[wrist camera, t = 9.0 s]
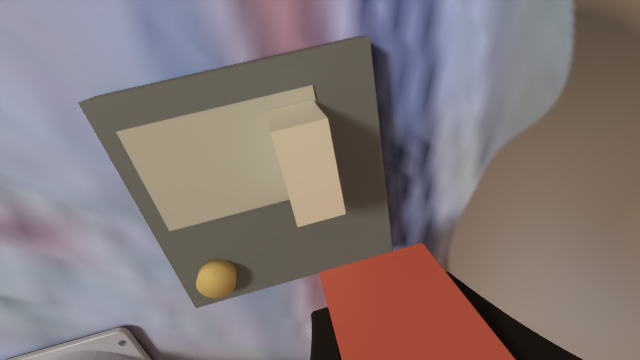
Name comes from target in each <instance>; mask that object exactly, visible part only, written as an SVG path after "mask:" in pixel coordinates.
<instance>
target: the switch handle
mask: <svg viewBox="0 0 640 360" xmlns="http://www.w3.org/2000/svg"><path fill="white" fill-rule="evenodd" d="M268 114H269V123H270V133H271V136H272V140H273V143H274V147H275V150H276V153H277V157H278V160H279V164H280V167H281V171H282V174H283V178H284V181H285V185H286V188H287V192H288V195H289V199H290V202H291V206H292V209H293V213H294V216H295V220H296V223H297V227H301V226H304V225H308V224H312V223H315V222H319V221H323V220H326V219H330V218H334V217H337V216H341V215H345V214H346V212H345V207H344V201H343V196H342V191H341V185H340V180H339V175H338V170H337V164H336V159H335V154H334V148H333V143H332V138H331V132H330V127H329V122H328V118H327V117H326V116H325V114H324V113H323V112H322V111H321V110H320V108H319V107H318V106H317V105H316V104H315V102H314V101H313V100H311V101H307V102H303V103H299V104H295V105H290V106H286V107H282V108H278V109H274V110H270V111H268Z"/></svg>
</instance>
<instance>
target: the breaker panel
mask: <svg viewBox="0 0 640 360" xmlns="http://www.w3.org/2000/svg"><path fill="white" fill-rule="evenodd" d="M311 100H313V101H314V102H315V104H316V105H317V106H318V107H319V108H320V110H321V111H322V112H323V113H324V114H325V116H326V117H327V118H328V122H329V127H330V132H331V138H332V143H333V148H334V154H335V159H336V164H337V170H338V175H339V180H340V185H341V191H342V196H343V201H344V207H345V212H346V214H345V215H341V216H337V217H334V218H330V219H326V220H323V221H319V222H315V223H312V224H308V225H304V226H301V227H297V223H296V220H295V216H294V213H293V209H292V206H291V202H290V199H289V195H288V192H287V188H286V185H285V181H284V178H283V174H282V171H281V167H280V164H279V160H278V157H277V153H276V150H275V147H274V143H273V140H272V136H271V133H270V123H269V114H268V111H270V110H274V109H278V108H282V107H286V106H290V105H295V104H299V103H303V102H307V101H311ZM79 105H80V107H81V108H82V110H83V112H84V114H85V115H86V117H87V119H88V120H89V122H90V124H91V126H92V127H93V129H94V131H95V133H96V134H97V136H98V138H99V140H100V141H101V143H102V145H103V147H104V148H105V150H106V152H107V154H108V155H109V157H110V159H111V161H112V162H113V164H114V166H115V168H116V169H117V171H118V173H119V175H120V176H121V178H122V180H123V182H124V183H125V185H126V187H127V189H128V190H129V192H130V194H131V196H132V197H133V199H134V201H135V203H136V204H137V206H138V208H139V210H140V211H141V213H142V215H143V217H144V218H145V220H146V222H147V224H148V225H149V227H150V229H151V231H152V232H153V234H154V236H155V238H156V239H157V241H158V243H159V244H160V246H161V248H162V250H163V251H164V253H165V255H166V257H167V258H168V260H169V262H170V264H171V265H172V267H173V269H174V271H175V272H176V274H177V276H178V278H179V279H180V281H181V283H182V285H183V286H184V288H185V290H186V292H187V293H188V295H189V297H190V299H191V300H192V302H193V304H194V306H195V307H196V308H198V307H201V306H205V305H208V304H212V303H215V302H219V301H222V300H226V299H229V298H233V297H236V296H240V295H243V294H247V293H250V292H254V291H257V290H261V289H264V288H268V287H271V286H275V285H278V284H282V283H285V282H289V281H292V280H296V279H299V278H303V277H306V276H310V275H313V274H317V273H319V272H322V271H325V270H329V269H332V268H336V267H339V266H343V265H346V264H350V263H353V262H356V261H360V260H363V259H367V258H370V257H374V256H377V255H381V254H384V253H388V252H391V251H393V248H392V239H391V229H390V220H389V211H388V201H387V192H386V183H385V174H384V164H383V155H382V146H381V136H380V127H379V118H378V108H377V99H376V90H375V81H374V71H373V62H372V53H371V43H370V36H357V37H353V38H348V39H344V40H339V41H335V42H331V43H326V44H322V45H318V46H313V47H309V48H304V49H300V50H296V51H291V52H287V53H283V54H278V55H274V56H269V57H265V58H261V59H256V60H252V61H247V62H243V63H239V64H234V65H230V66H226V67H221V68H217V69H212V70H208V71H204V72H199V73H195V74H191V75H186V76H182V77H177V78H173V79H169V80H164V81H160V82H156V83H151V84H147V85H142V86H138V87H134V88H129V89H125V90H121V91H116V92H112V93H107V94H103V95H99V96H95V97H92V98H90V99H87V100H84V101H81V102H79Z"/></svg>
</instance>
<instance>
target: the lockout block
mask: <svg viewBox="0 0 640 360" xmlns="http://www.w3.org/2000/svg"><path fill="white" fill-rule="evenodd" d="M319 273H320V277H321V281H322V285H323V289H324V293H325V297H326V301H327V304H328V308H329V312H330V316H331V320H332V324H333V328H334V332H335V336H336V340H337V343H338V347H339V351H340V355H341V359H342V360H515V358H514V357H513V356H512V355H511V353H510V352H509V351H508V350H507V348H506V347H505V346H504V345H503V343H502V342H501V341H500V340H499V338H498V337H497V336H496V335H495V333H494V332H493V331H492V330H491V328H490V327H489V326H488V325H487V323H486V322H485V321H484V319H483V318H482V317H481V316H480V314H479V313H478V312H477V311H476V309H475V308H474V307H473V306H472V304H471V303H470V302H469V301H468V299H467V298H466V297H465V296H464V294H463V293H462V292H461V291H460V289H459V288H458V287H457V286H456V284H455V283H454V282H453V281H452V279H451V278H450V277H449V276H448V274H447V273H446V272H445V271H444V269H443V268H442V267H441V266H440V264H439V263H438V262H437V261H436V259H435V258H434V257H433V256H432V254H431V253H430V252H429V250H428V249H427V248H426V247H425V245H424V244H423V243H419V244H415V245H412V246H408V247H405V248H401V249H398V250H394V251H391V252H388V253H384V254H381V255H377V256H374V257H370V258H367V259H363V260H360V261H356V262H353V263H350V264H346V265H343V266H339V267H336V268H332V269H329V270H325V271H322V272H319Z"/></svg>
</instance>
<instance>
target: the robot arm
mask: <svg viewBox="0 0 640 360" xmlns="http://www.w3.org/2000/svg"><path fill="white" fill-rule="evenodd" d="M446 273H447V274H448V276H449V277H450V278H451V279H452V281H453V282H454V283H455V284H456V286H457V287H458V288H459V289H460V291H461V292H462V293H463V294H464V296H465V297H466V298H467V299H468V301H469V302H470V303H471V304H472V306H473V307H474V308H475V309H476V311H477V312H478V313H479V314H480V316H481V317H482V318H483V319H484V321H485V322H486V323H487V325H488V326H489V327H490V328H491V330H492V331H493V332H494V333H495V335H496V336H497V337H498V338H499V340H500V341H501V342H502V343H503V345H504V346H505V347H506V348H507V350H508V351H509V352H510V353H511V355H512V356H513V357H514V358H515V360H582V359H581V358H579V357H577V356H575V355H573V354H571V353H570V352H568V351H566V350H564V349H562V348H561V347H559V346H557V345H555V344H554V343H552V342H550V341H549V340H547V339H545V338H543V337H542V336H540V335H539V334H537V333H535V332H533V331H532V330H531V329H529V328H527V327H526V326H524V325H523V324H521V323H519V322H518V321H516V320H515V319H513V318H512V317H510V316H509V315H507V314H506V313H504V312H503V311H501V310H500V309H499V308H497V307H495V306H494V305H493V304H491V303H490V302H488V301H487V300H485V299H484V298H483V297H481V296H480V295H479V294H477V293H476V292H474V291H473V290H472V289H470V288H469V287H468V286H466V285H465V284H464V283H462V282H461V281H460V280H458V279H457V278H456V277H454V276H453V275H452V274H450V273H449V272H446ZM311 319H312V344H311V358H310V360H342V359H341V355H340V351H339V347H338V343H337V340H336V336H335V332H334V328H333V324H332V320H331V316H330V312H329V308H328V307H327V308H323V309H320V310H317V311H313V313H312V314H311ZM7 360H151V358H150V357H149V356H148V355H147V353H146V352H145V351H144V349H143V348H142V347H141V345H140V344H139V343H138V341H137V340H136V339H135V338H134V336H133V335H132V334H131V332H130V331H129V330H128V329H126V328H123V327H120V328H115V329H112V330H108V331H105V332H101V333H98V334H94V335H91V336H87V337H84V338H80V339H77V340H73V341H70V342H66V343H63V344H59V345H56V346H52V347H49V348H45V349H42V350H38V351H35V352H31V353H28V354H24V355H21V356H17V357H14V358H10V359H7Z"/></svg>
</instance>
